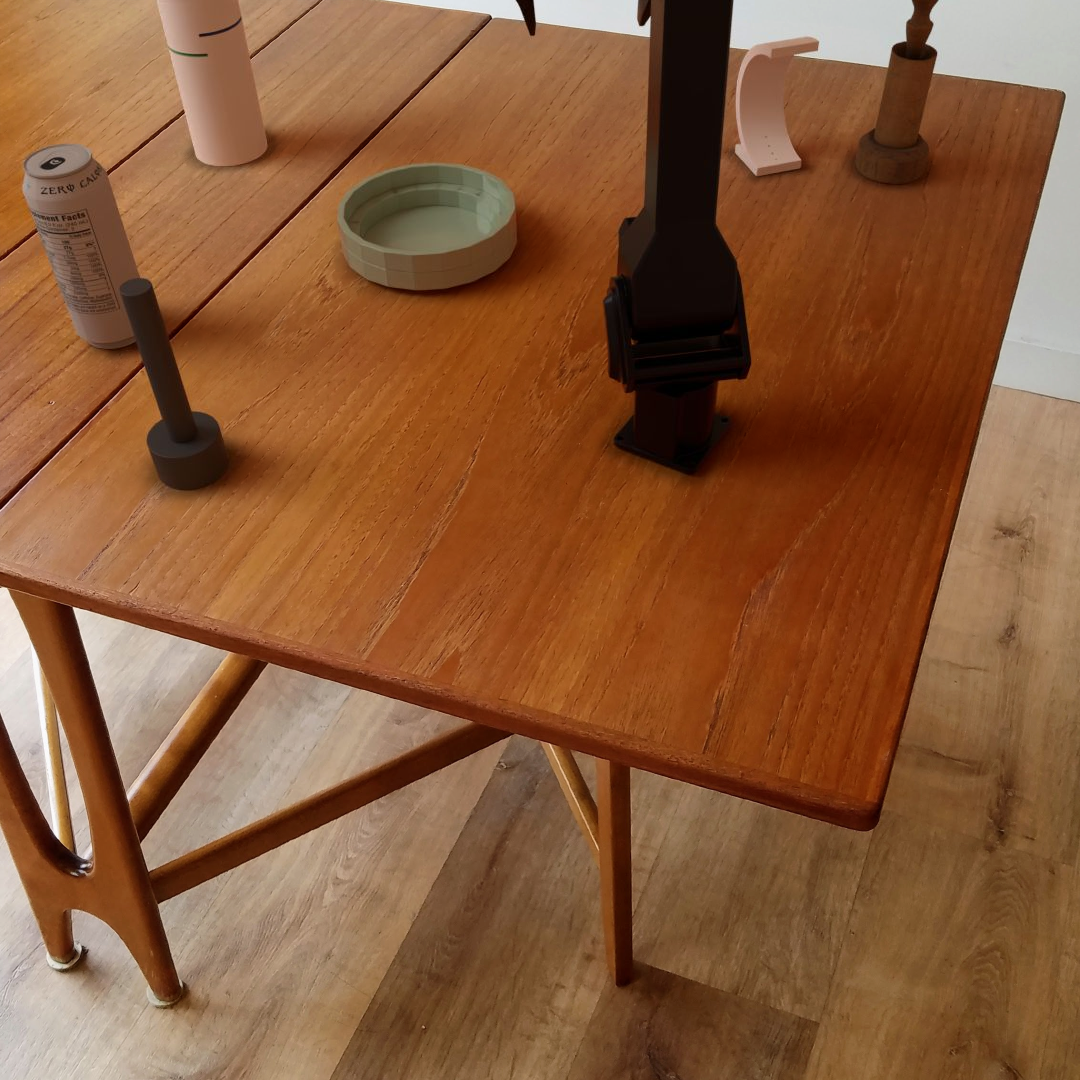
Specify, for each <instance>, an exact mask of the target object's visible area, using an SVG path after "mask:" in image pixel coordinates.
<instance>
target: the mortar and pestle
mask: <svg viewBox="0 0 1080 1080" xmlns="http://www.w3.org/2000/svg"><path fill="white" fill-rule="evenodd" d="M939 1H940V0H911V3H912V6H913V12H912V15H911V17H910V18H908V19H907V21H906V23H905V39H906V41H905V40H904V41H903V40H902V41H899V42H897V43H895V44H893V45H892V47H891V50H890V56H889V61H888V67H887V72H886V77H885V82H884V86H883V91H882V96H881V101H880V105H879V110H878V115H877V118H876V119H877V120H876V124H875V127H874V128H873V129H871V130H870V131H868V132H866V133H864V134H863V135H862V136H861V137H860V139H859V141H858V145H857V150H856V154H855V159H854V166H855V169H856V170H857V171H858V173H859V174H861V175H862V176H864V177H865V178H867V179H869V180H872V181H874V182H879V183H883V184H890V185H902V184H903V185H904V184H908V183H912V182H914V181H916V180H918V179H920V178H921V177H922V176H923V174H924V172H925V171H926V166H927V161H928V157H929V154H930V146H929V143H928V142H927V140H926V139H925V138H924V137H923V136H922V135H921V134H920V129H921V124H922V120H923V117H924V116H923V115H924V112H925V108H926V104H927V99H928V95H929V91H930V87H931V82H932V78H933V74H934V70H935V66H936V61H937V58H938V51H937V49H936V48H935V47H933V46H931V45H930V44H928V43H927V41H928V39H929V38H930V36H931V33H932V31H933V28H934V22H933V20H931V13H932V10H933V8H934V7H935V6H936V4H937V3H938V2H939Z"/></svg>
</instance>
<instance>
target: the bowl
mask: <svg viewBox="0 0 1080 1080" xmlns="http://www.w3.org/2000/svg"><path fill="white" fill-rule="evenodd" d="M516 208H517V207H516V198H515V193H514V192H513V190H511V188H510V186H508V185H507V183H506V182H505V181H504V180H503V179H501V178H499V177H497V176H496V175H494V174H493V173H491V172H489V171H487V170H483V169H480V168H476V167H473V166H469V165H467V164H459V163H448V162H425V163H424V162H423V163H411V164H410V163H409V164H406V165H402V166H398V167H393V168H388V169H385V170H382V171H380V172H377V173H375V174H373V175H370V176H368V177H366V178H364V179H362V180H361V181H359V182H358V183H357V184H355V185H354V186H352V187H351V188H349V189H348V190H347V191H346V193H345V194H344V196H343V197H342V199H340V201H339V203H338V205H337V215H336V221H337V228H338V234H339V239H340V244H341V246H340V247H341V251H342V252H341V253H342V255H343V257H344V258H345V260H346V262H347V264H348V266H349V268H351V269H352V270H353V271H354V272H356V273H357V274H359V275H360V276H361V277H362V278H363V279H365V280H367V281H370V282H373V283H376V284H378V285H382V286H385V287H388V288H395V289H401V290H402V289H403V290H411V291H428V290H429V291H431V290H445V289H449V288H454V287H458V286H461V285H467V284H470V283H472V282H473V283H474V282H476V281H478V280H479V279H481V278H484V277H486V276H488V275H490V274H492V273H494V272H496V271H497V270H498V269H499V268H500V267H501V266H502V265H503V264H505V263H506V262H507V261H508V260H509V259H510V258H511V257H512V254H513V253H514V251H515V249H516V246H517V244H518V230H517V211H516V210H517V209H516Z"/></svg>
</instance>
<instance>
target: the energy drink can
mask: <svg viewBox="0 0 1080 1080" xmlns="http://www.w3.org/2000/svg"><path fill="white" fill-rule="evenodd" d="M22 168H23V171H24V177H23V180H22V186H21V190H22V193H23V195H24V198H25V202H26V204H27V207H28V209H29V212H30V214H31V216H32V217H31V218H32V219H33V222H34V225H35V227H36V230H37V232H38V235H39V238H40V241H41V243H42V246H43V249H44V251H45V253H46V257H47V259H48V262H49V265H50V267H51V269H52V272H53V275H54V277H55V280H56V283H57V285H58V288H59V290H60V293H61V295H62V298H63V301H64V303H65V306H66V309H67V312H68V315H69V316H70V319H71V322H72V324H73V327H74V330H75V332H76V335H78V337H80V338H81V339H83V340H84V341H87V343H88V344H89V345H91V346H93V347H95V348H98V349H104V350H114V349H120V348H123V347H127V346H129V345H132V344H134V343H137V342H136V339H135V336H134V333H133V330H132V327H131V325H130V322H129V319H128V316H127V313H126V310H125V307H124V304H123V301H122V298H121V295H120V292H119V288H120V286H121V285H122V284H123V283H124V282H126V281H128V280H130V279H134V278H141V276H140V273H139V270H138V267H137V264H136V260H135V257H134V254H133V251H132V248H131V245H130V244H131V243H130V241H129V238H128V236H127V232H126V229H125V226H124V223H123V219H122V217H121V213H120V210H119V207H118V204H117V201H116V198H115V194H114V191H113V189H112V185H111V181H110V179H109V176H108V173H107V169H105V168H104V166H102V165H101V164H100V163H99V162H98V161H97V160H96V159H95V158H94V157H93V153H92V151H91V149H90V148H89V147H87V146H85V145H82V144H79V143H69V142H68V143H67V142H66V143H55V144H51V145H47V146H45V147H41V148H39V149H37V150H34V151H32V152H31V153H30V154H29V155H27V156H26V157H25V158H24V160H23V161H22Z"/></svg>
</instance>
